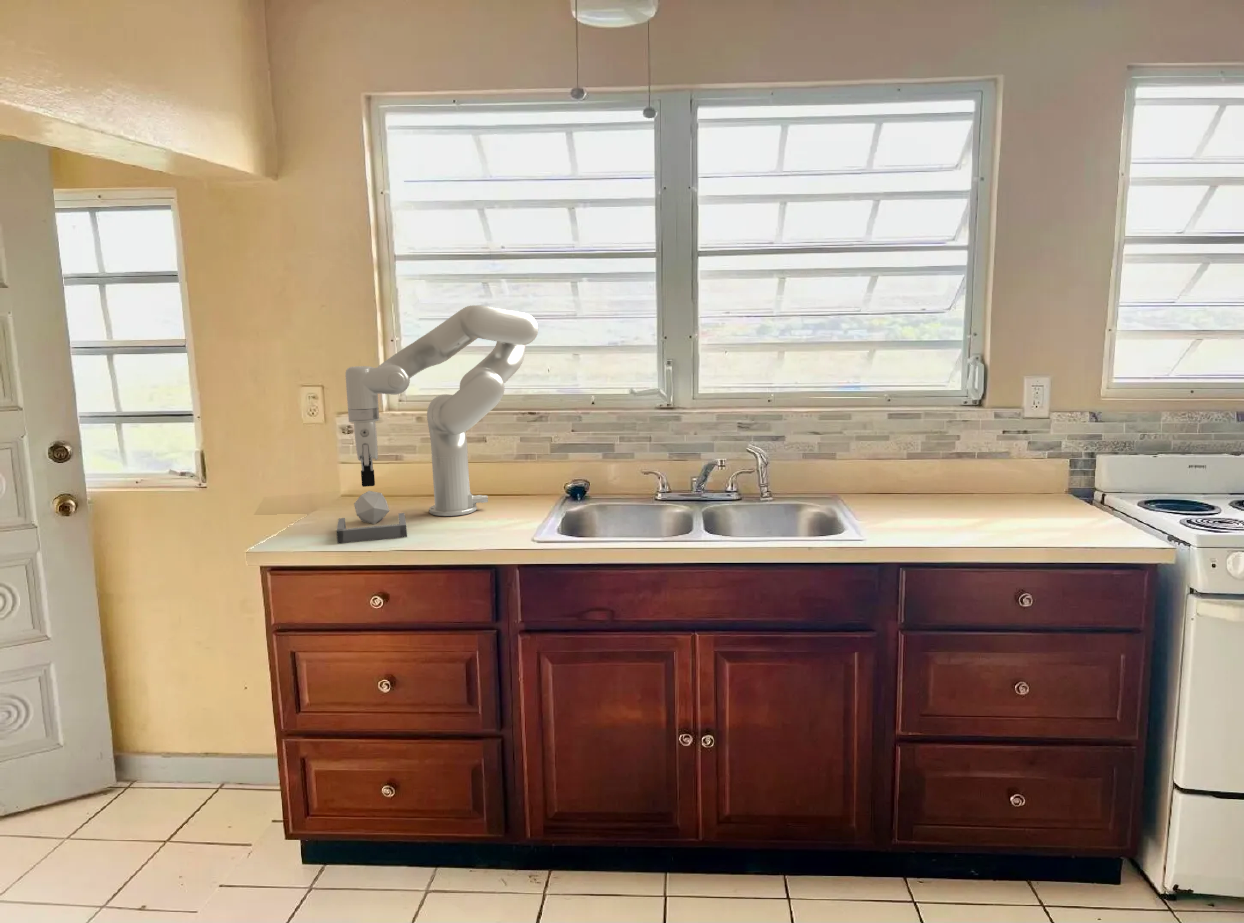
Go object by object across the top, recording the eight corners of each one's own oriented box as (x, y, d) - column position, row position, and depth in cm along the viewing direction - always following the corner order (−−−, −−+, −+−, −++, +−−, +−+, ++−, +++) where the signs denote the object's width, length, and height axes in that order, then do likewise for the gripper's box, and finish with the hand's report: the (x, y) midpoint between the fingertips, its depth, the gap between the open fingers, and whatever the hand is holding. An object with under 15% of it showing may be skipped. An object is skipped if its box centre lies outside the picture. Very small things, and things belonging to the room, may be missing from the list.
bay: (405, 524, 215) (404, 512, 214) (407, 536, 202) (406, 524, 202) (339, 530, 210) (338, 518, 210) (337, 543, 198) (336, 531, 198)
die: (397, 523, 219) (391, 490, 223) (378, 514, 211) (373, 480, 215) (369, 533, 220) (364, 500, 224) (350, 525, 213) (345, 491, 216)
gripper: (379, 417, 207) (383, 490, 210) (378, 411, 221) (383, 479, 224) (347, 419, 205) (352, 492, 208) (349, 412, 219) (353, 481, 222)
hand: (368, 485), depth 216 cm, fingers closed
